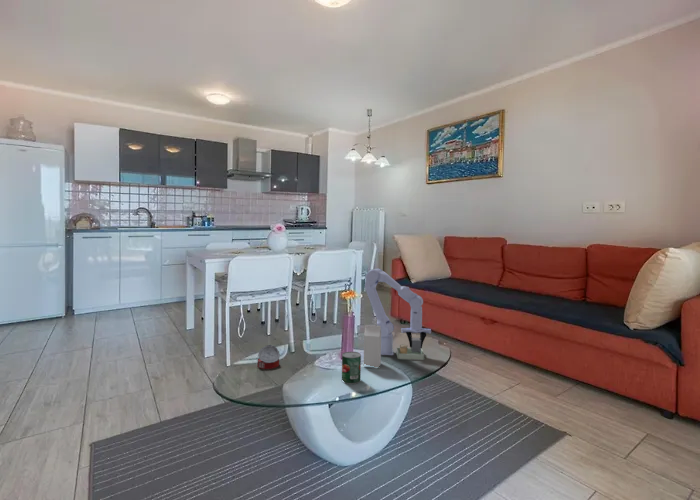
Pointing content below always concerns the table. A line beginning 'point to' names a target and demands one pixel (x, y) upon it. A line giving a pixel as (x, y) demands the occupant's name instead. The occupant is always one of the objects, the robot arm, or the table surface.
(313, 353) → the table surface
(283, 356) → the table surface
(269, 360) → the grey and red dome
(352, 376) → the canned tomato
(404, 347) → the jar
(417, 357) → the crate
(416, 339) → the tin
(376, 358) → the milk carton
